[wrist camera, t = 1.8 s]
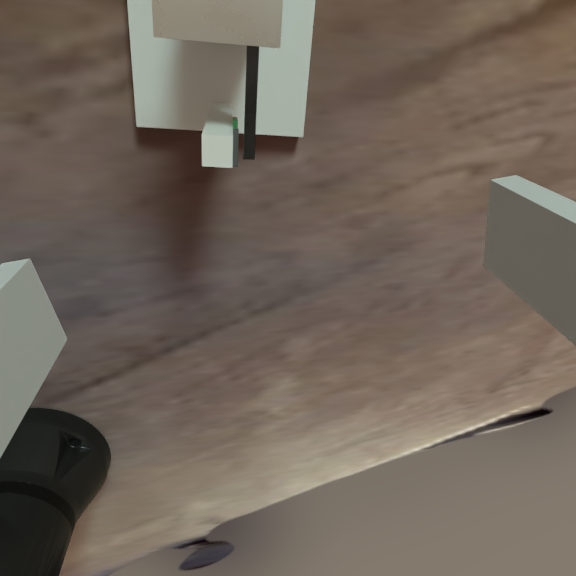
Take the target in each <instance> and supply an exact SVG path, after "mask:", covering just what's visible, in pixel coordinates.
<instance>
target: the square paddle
mask: <svg viewBox="0 0 576 576" xmlns="http://www.w3.org/2000/svg"><path fill="white" fill-rule="evenodd" d="M282 11H283V0H152V17H153V35H154V37H156V38H166V39H178V40H189V41H200V42H211V43H222V44H233V45H245V46H247V50H246V83H245V115H244V147H243V159H253V160H254V158H255V134H256V111H257V87H258V63H259V47H267V48H280V43H281V27H282Z"/></svg>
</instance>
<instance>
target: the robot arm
mask: <svg viewBox="0 0 576 576" xmlns="http://www.w3.org/2000/svg"><path fill="white" fill-rule="evenodd" d="M483 266H484V267H486V268H487V269H488V270H489V271H490V272H491V273H493V274H494V275H495V276H496V277H497V278H498V279H499V280H501V281H502V282H503V283H504V284H505V285H506V286H507V287H509V288H510V289H511V290H512V291H513V292H514V293H516V294H517V295H518V296H519V297H520V298H521V299H522V300H524V301H525V302H526V303H527V304H528V305H529V306H531V307H532V308H533V309H534V310H535V311H536V312H537V313H539V314H540V315H541V316H542V317H543V318H544V319H545V320H547V321H548V322H549V323H550V324H551V325H552V326H554V327H555V328H556V329H557V330H558V331H559V332H560V333H562V334H563V335H564V336H565V337H566V338H567V339H568V340H570V341H571V342H572V343H573V344H574V345H575V346H576V202H575V201H572V200H570V199H568V198H566V197H564V196H561V195H559V194H557V193H555V192H552V191H550V190H548V189H546V188H544V187H541V186H539V185H537V184H535V183H532V182H530V181H528V180H526V179H524V178H521V177H519V176H517V175H515V176H509V177H503V178H497V179H492V180H490V190H489V203H488V215H487V227H486V240H485V252H484V264H483ZM66 341H67V337H66V335H65V333H64V331H63V328H62V326H61V324H60V322H59V320H58V318H57V315H56V313H55V311H54V309H53V307H52V305H51V302H50V300H49V298H48V296H47V294H46V292H45V290H44V287H43V285H42V283H41V281H40V279H39V277H38V274H37V272H36V270H35V268H34V266H33V264H32V261H31V259H24V260H19V261H13V262H7V263H2V264H1V265H0V576H59V573H60V570H61V567H62V564H63V561H64V558H65V555H66V551H67V548H68V545H69V542H70V539H71V535H72V532H73V529H74V526H75V523H76V521H77V520H78V519H79V517H80V516H81V514H82V513H83V512H84V510H85V509H86V508H87V506H88V505H89V504H90V502H91V501H92V499H93V498H94V497H95V495H96V494H97V492H98V491H99V490H100V488H101V487H102V485H103V483H104V481H105V479H106V475H107V472H108V469H109V465H110V460H111V455H110V449H109V446H108V444H107V442H106V440H105V438H104V437H103V436H102V434H101V433H100V432H99V431H98V430H97V429H96V428H95V427H93V426H92V425H91V424H89V423H88V422H86V421H85V420H83V419H81V418H79V417H77V416H74V415H72V414H69V413H66V412H62V411H58V410H53V409H44V408H29V407H30V405H31V403H32V401H33V399H34V398H35V396H36V394H37V392H38V391H39V389H40V387H41V385H42V383H43V382H44V380H45V378H46V376H47V375H48V373H49V371H50V369H51V368H52V366H53V364H54V362H55V360H56V359H57V357H58V355H59V353H60V352H61V350H62V348H63V346H64V344H65V343H66ZM28 408H29V409H28Z"/></svg>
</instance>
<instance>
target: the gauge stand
mask: <svg viewBox="0 0 576 576" xmlns="http://www.w3.org/2000/svg"><path fill="white" fill-rule="evenodd" d="M127 6H128V19H129V33H130V46H131V60H132V73H133V86H134V100H135V113H136V127H149V128H165V129H181V130H196V131H203V132H202V166H205V167H224V168H232V167H238V136H239V133H244V115H245V83H246V50H247V46H245V45H233V44H222V43H211V42H200V41H189V40H178V39H166V38H156V37H154V35H153V17H152V0H127ZM314 10H315V0H283V11H282V27H281V43H280V48H267V47H259V63H258V87H257V111H256V134H260V135H276V136H292V137H303V132H304V121H305V110H306V99H307V88H308V77H309V65H310V54H311V43H312V32H313V21H314Z"/></svg>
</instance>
